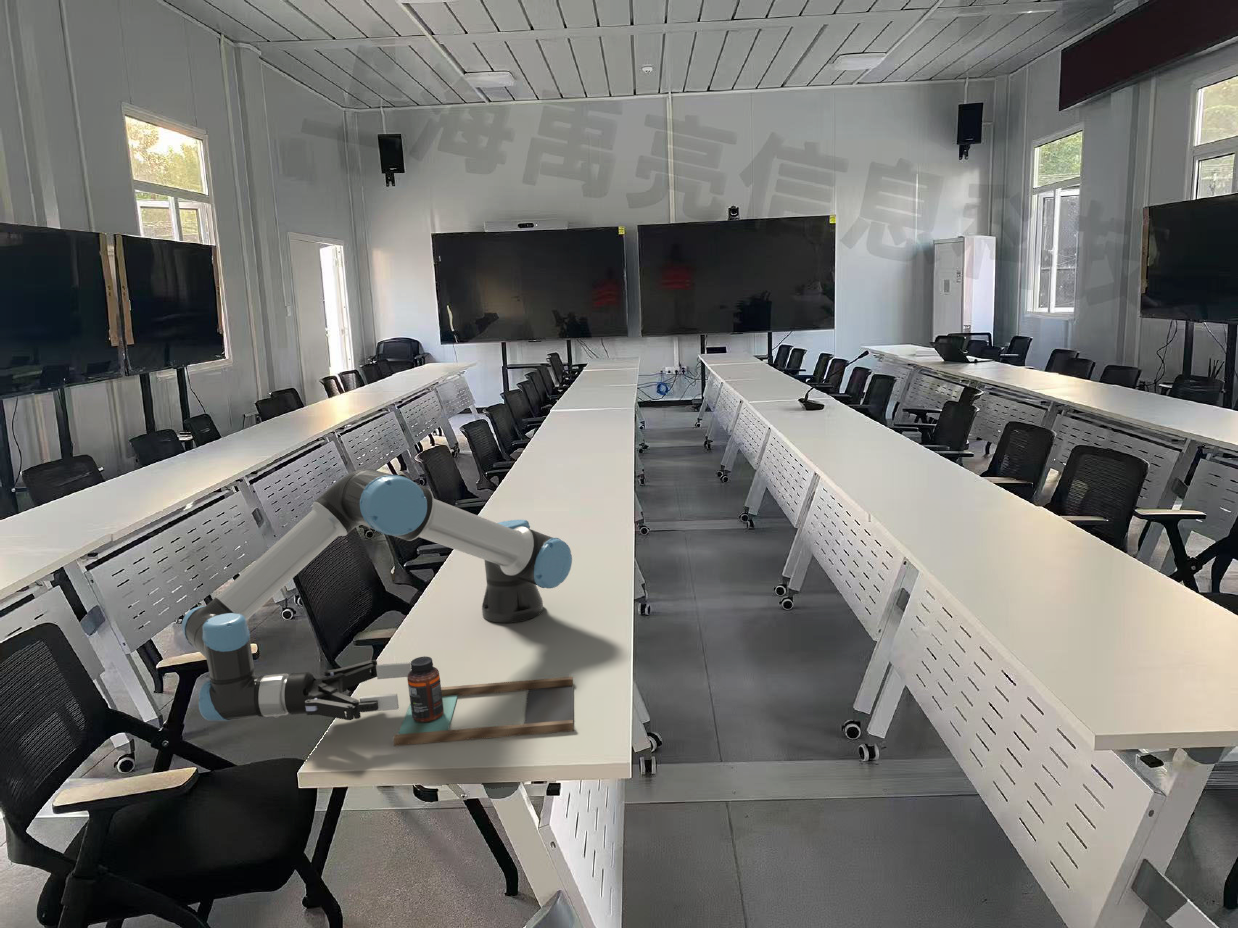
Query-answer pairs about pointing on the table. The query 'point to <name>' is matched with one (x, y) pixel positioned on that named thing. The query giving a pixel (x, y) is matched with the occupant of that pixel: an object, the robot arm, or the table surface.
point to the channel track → (543, 715)
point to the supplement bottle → (425, 690)
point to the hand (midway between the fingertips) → (404, 684)
